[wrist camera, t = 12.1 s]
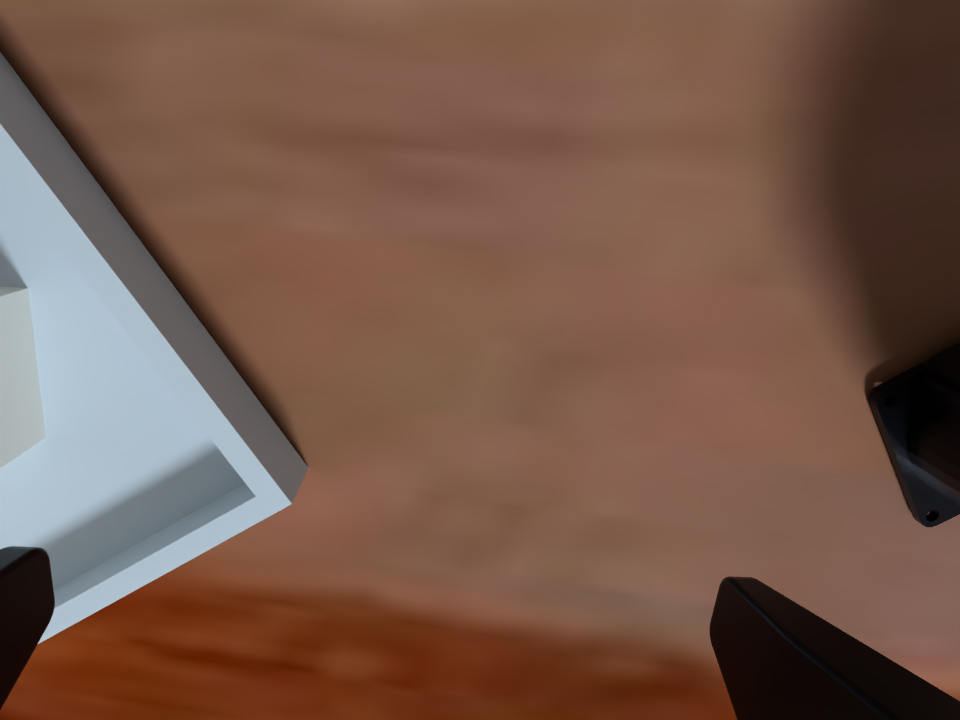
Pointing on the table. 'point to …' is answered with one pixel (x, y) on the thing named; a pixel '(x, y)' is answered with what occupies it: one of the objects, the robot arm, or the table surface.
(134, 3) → the table surface
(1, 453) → the bored block
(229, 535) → the tray
